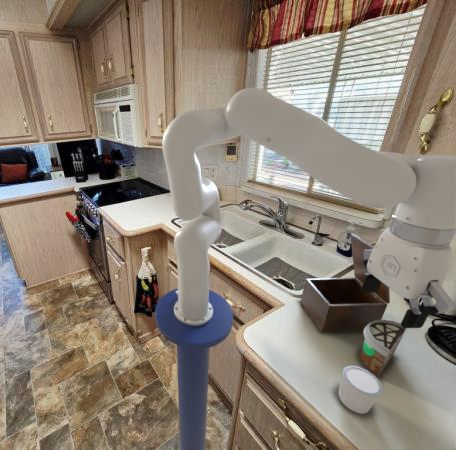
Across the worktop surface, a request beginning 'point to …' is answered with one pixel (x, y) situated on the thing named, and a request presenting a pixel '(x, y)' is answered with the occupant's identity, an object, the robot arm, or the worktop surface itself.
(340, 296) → the chest
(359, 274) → the chest lid
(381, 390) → the white tapered cup
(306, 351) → the worktop surface
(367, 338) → the food container
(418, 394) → the worktop surface
